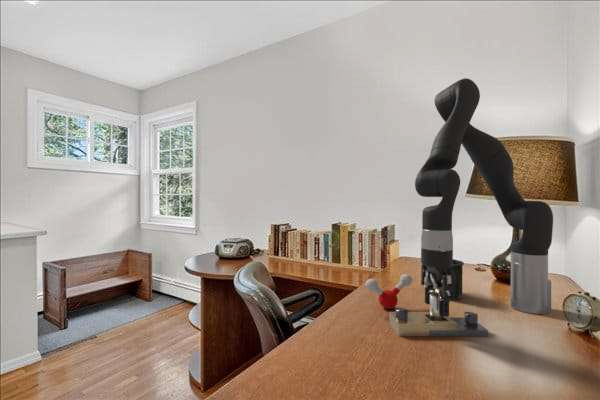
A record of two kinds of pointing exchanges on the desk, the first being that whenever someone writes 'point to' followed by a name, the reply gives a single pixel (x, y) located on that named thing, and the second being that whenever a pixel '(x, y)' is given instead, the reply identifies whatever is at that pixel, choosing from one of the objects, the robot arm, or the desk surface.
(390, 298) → the molecular model
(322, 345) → the desk surface
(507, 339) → the desk surface
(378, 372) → the desk surface
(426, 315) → the two-tone base plate
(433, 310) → the pin
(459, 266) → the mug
